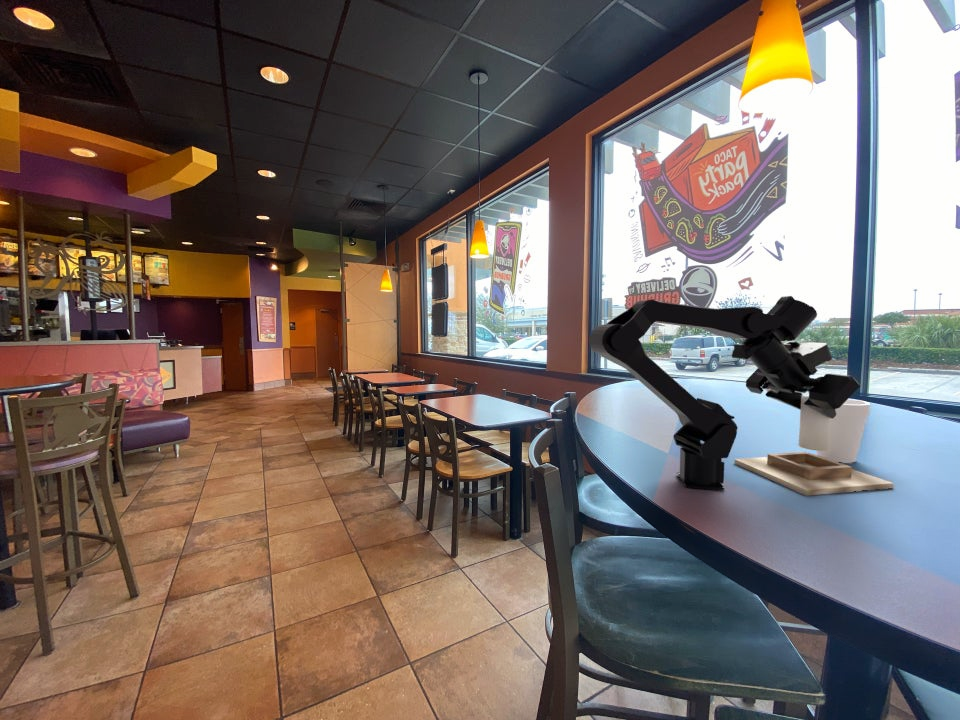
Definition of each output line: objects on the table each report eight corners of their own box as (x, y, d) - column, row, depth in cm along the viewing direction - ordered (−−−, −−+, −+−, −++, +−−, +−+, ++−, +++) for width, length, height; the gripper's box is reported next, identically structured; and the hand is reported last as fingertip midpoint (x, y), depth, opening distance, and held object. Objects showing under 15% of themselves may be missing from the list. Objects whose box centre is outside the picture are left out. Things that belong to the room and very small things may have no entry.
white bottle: (819, 452, 72) (822, 394, 71) (793, 445, 76) (796, 390, 75) (833, 449, 74) (837, 392, 73) (807, 442, 78) (810, 389, 77)
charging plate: (806, 495, 67) (807, 479, 67) (734, 463, 83) (734, 450, 83) (893, 488, 69) (894, 472, 69) (807, 458, 85) (808, 445, 85)
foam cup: (845, 467, 80) (849, 406, 78) (798, 453, 88) (801, 398, 87) (876, 462, 82) (881, 403, 81) (827, 449, 91) (831, 395, 90)
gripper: (854, 328, 63) (907, 392, 65) (761, 328, 82) (805, 377, 84) (807, 376, 63) (862, 439, 65) (725, 365, 82) (769, 414, 84)
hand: (821, 413), depth 74 cm, fingers closed on white bottle, 4 cm apart
